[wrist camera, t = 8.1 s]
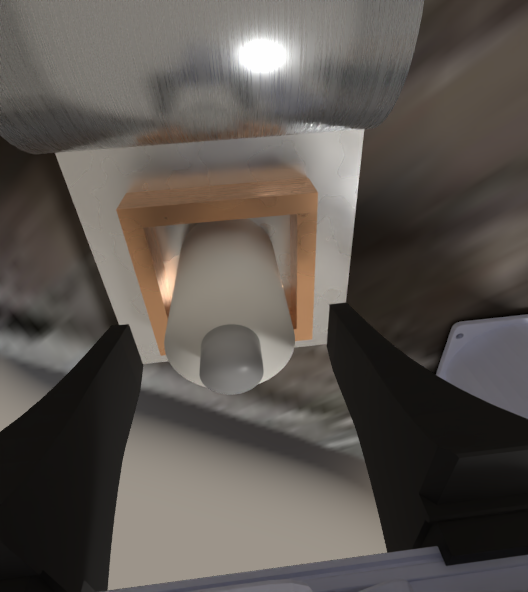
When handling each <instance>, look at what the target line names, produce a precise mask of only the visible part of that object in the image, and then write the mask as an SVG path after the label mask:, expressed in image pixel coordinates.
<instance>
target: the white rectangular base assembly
mask: <svg viewBox="0 0 528 592" xmlns="http://www.w3.org/2000/svg"><path fill="white" fill-rule="evenodd" d="M423 4H424V0H0V135H1V136H2V137H3V138H4V139H5V140H6V141H8V142H9V143H10V144H12V145H13V146H15V147H16V148H18V149H20V150H22V151H24V152H27V153H31V154H46V153H55V155H56V157H57V160H58V163H59V165H60V168H61V171H62V173H63V176H64V179H65V181H66V184H67V187H68V189H69V192H70V195H71V197H72V200H73V203H74V205H75V208H76V211H77V214H78V216H79V219H80V222H81V224H82V227H83V230H84V232H85V235H86V238H87V240H88V243H89V246H90V248H91V251H92V254H93V256H94V259H95V262H96V264H97V267H98V270H99V272H100V275H101V278H102V280H103V283H104V286H105V288H106V291H107V294H108V296H109V299H110V302H111V305H112V307H113V310H114V313H115V315H116V318H117V321H118V323H119V325H125V324H129V326H130V329H131V331H132V334H133V337H134V340H135V343H136V346H137V349H138V351H139V354H140V357H141V360H142V363H143V364H147V363H157V362H166V361H168V358H167V356H166V353H165V348H164V340H165V333H166V328H167V322H168V317H169V311H170V306H171V301H172V295H173V290H174V284H175V279H176V274H177V268H178V263H179V257H180V252H181V247H182V243H183V241H184V239H185V237H186V235H187V234H188V233H189V231H190V230H191V229H192V228H193V227H194V226H195V225H197V224H198V223H201V222H213V221H224V220H235V219H246V218H247V219H249V220H251V221H253V222H255V223H256V224H258V225H259V226H260V227H261V228H262V229H263V230H264V231H265V232H266V233H267V235H268V236H269V238H270V240H271V242H272V245H273V249H274V253H275V257H276V261H277V265H278V269H279V273H280V277H281V281H282V285H283V289H284V293H285V297H286V301H287V305H288V309H289V313H290V317H291V321H292V325H293V329H294V334H295V346H294V348H295V347H304V346H313V345H322V344H327V334H328V319H329V305H330V304H336V303H346V297H347V288H348V278H349V269H350V259H351V250H352V240H353V231H354V221H355V212H356V202H357V193H358V183H359V174H360V164H361V155H362V145H363V136H364V129H373V128H375V127H377V126H379V125H380V124H381V123H382V122H383V121H384V120H385V119H386V118H387V117H388V115H389V113H390V112H391V110H392V109H393V107H394V105H395V103H396V101H397V99H398V97H399V95H400V92H401V90H402V88H403V85H404V82H405V79H406V77H407V74H408V71H409V68H410V64H411V61H412V57H413V54H414V50H415V45H416V41H417V37H418V33H419V27H420V22H421V17H422V11H423Z"/></svg>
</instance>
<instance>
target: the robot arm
mask: <svg viewBox="0 0 528 592" xmlns="http://www.w3.org/2000/svg"><path fill="white" fill-rule="evenodd" d="M327 349H328V353H329V357H330V361H331V365H332V369H333V372H334V374H335V377H336V379H337V382H338V385H339V387H340V390H341V392H342V395H343V397H344V400H345V402H346V405H347V407H348V410H349V412H350V415H351V417H352V420H353V423H354V425H355V428H356V431H357V434H358V438H359V441H360V445H361V448H362V452H363V455H364V459H365V463H366V466H367V470H368V474H369V478H370V481H371V485H372V489H373V493H374V497H375V501H376V505H377V509H378V514H379V518H380V522H381V526H382V530H383V535H384V539H385V544H386V548H387V553H381V554H374V555H367V556H359V557H352V558H345V559H337V560H330V561H323V562H315V563H308V564H300V565H293V566H286V567H278V568H271V569H263V570H256V571H249V572H241V573H234V574H226V575H219V576H212V577H205V578H197V579H190V580H182V581H175V582H167V583H160V584H152V585H145V586H138V587H131V588H123V589H116V590H108V591H107V589H108V577H109V564H110V553H111V543H112V534H113V524H114V515H115V507H116V500H117V492H118V486H119V480H120V473H121V467H122V460H123V456H124V451H125V447H126V443H127V439H128V436H129V431H130V428H131V424H132V420H133V417H134V413H135V409H136V405H137V401H138V397H139V393H140V388H141V381H142V372H143V363H142V360H141V357H140V354H139V351H138V349H137V346H136V343H135V340H134V337H133V334H132V331H131V329H130V326H129V324H125V325H115V326H111V327H110V328H109V329H108V330H107V331H106V332H105V333H104V335H103V336H102V337H101V338H100V339H99V340H98V341H97V342H96V344H95V345H94V346H93V347H92V348H91V349H90V350H89V351H88V353H87V354H86V355H85V356H84V357H83V358H82V359H81V360H80V361H79V362H78V363H77V364H76V366H75V367H74V368H73V369H72V370H71V371H70V372H69V373H68V374H67V375H66V376H65V377H64V378H63V379H62V380H61V381H60V382H59V383H58V384H57V385H56V386H55V387H54V388H53V389H52V390H51V391H49V392H48V393H47V395H45V396H44V397H43V398H42V399H41V400H40V401H39V402H37V403H36V404H35V405H34V406H33V407H31V408H30V409H29V410H28V411H27V412H25V413H24V414H23V415H22V416H21V417H19V418H18V419H17V420H15V421H14V422H13V423H11V424H10V425H9V426H8V427H6V428H5V429H3V430H2V431H1V432H0V592H528V314H526V315H517V316H507V317H498V318H489V319H479V320H470V321H461V322H457V323H455V324H454V325H453V326H452V328H451V331H450V334H449V337H448V340H447V343H446V346H445V349H444V352H443V355H442V358H441V361H440V364H439V367H438V369H437V372H436V375H435V374H433V373H432V372H430V371H429V370H427V369H426V368H424V367H423V366H421V365H420V364H418V363H417V362H415V361H414V360H412V359H411V358H409V357H408V356H407V355H405V354H404V353H403V352H401V351H400V350H399V349H397V348H396V347H395V346H394V345H392V344H391V343H390V342H389V341H387V340H386V339H385V338H384V337H383V336H382V335H381V334H379V333H378V332H377V331H376V330H375V329H374V328H373V327H372V326H370V325H369V324H368V323H367V322H366V321H365V320H364V319H363V318H362V317H361V316H360V315H359V314H358V313H357V312H356V311H355V310H354V309H353V308H352V307H350V306H349V305H348V304H347V303H336V304H330V305H329V319H328V334H327Z"/></svg>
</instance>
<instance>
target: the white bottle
mask: <svg viewBox="0 0 528 592" xmlns="http://www.w3.org/2000/svg"><path fill="white" fill-rule="evenodd" d="M294 346H295V334H294V329H293V325H292V321H291V317H290V313H289V309H288V305H287V301H286V297H285V293H284V289H283V285H282V281H281V277H280V273H279V269H278V265H277V261H276V257H275V253H274V249H273V245H272V242H271V240H270V238H269V236H268V235H267V233H266V232H265V231H264V230H263V229H262V228H261V227H260V226H259V225H258V224H256V223H255V222H253V221H251V220H249V219H247V218H246V219H235V220H224V221H213V222H201V223H198V224H197V225H195V226H194V227H193V228H192V229H191V230H190V231H189V233H188V234H187V235H186V237H185V239H184V241H183V243H182V247H181V252H180V257H179V263H178V268H177V274H176V279H175V284H174V290H173V295H172V301H171V306H170V311H169V317H168V322H167V328H166V333H165V340H164V348H165V353H166V356H167V358H168V361H169V362H170V364H171V365H172V367H173V368H174V369H175V370H176V371H177V372H178V373H179V374H180V375H181V376H183V377H184V378H186V379H187V380H189V381H191V382H193V383H195V384H198V385H201V386H204V387H207V388H208V389H210V390H212V391H214V392H216V393H220V394H228V395H232V394H240V393H243V392H246V391H249V390H251V389H252V388H254V387H255V386H256V385H257V384H260V383H262V382H264V381H266V380H268V379H270V378H271V377H273V376H274V375H276V374H277V373H278V372H279V371H281V370H282V369H283V367H284V366H285V365H286V364H287V363H288V361H289V359H290V358H291V356H292V353H293V351H294Z"/></svg>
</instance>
